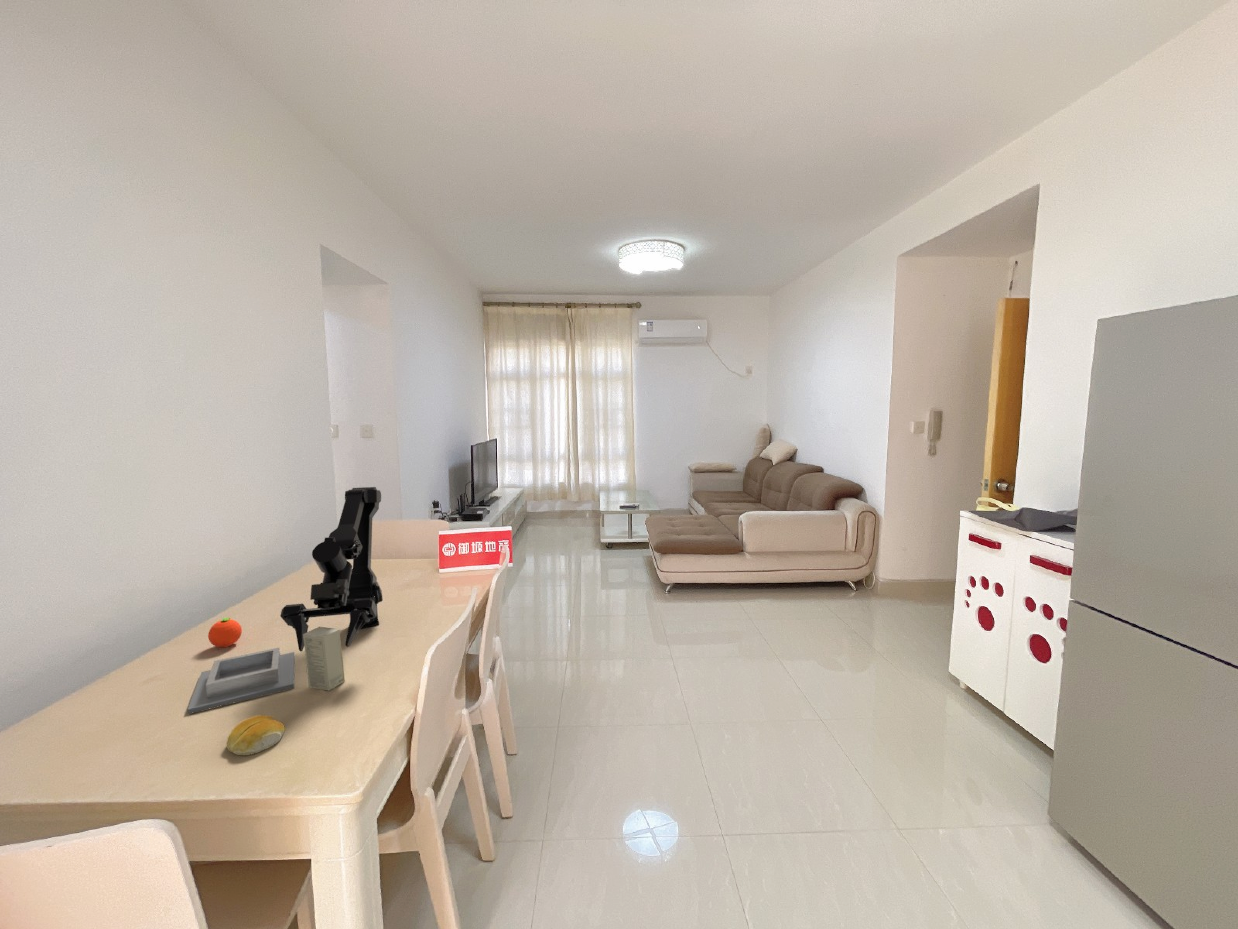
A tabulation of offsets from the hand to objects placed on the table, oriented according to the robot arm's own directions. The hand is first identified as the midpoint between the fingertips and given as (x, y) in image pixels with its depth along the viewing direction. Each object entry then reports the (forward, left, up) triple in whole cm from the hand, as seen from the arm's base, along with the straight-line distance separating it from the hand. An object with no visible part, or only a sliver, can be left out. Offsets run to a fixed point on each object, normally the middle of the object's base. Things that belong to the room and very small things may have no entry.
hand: (323, 648), depth 114 cm
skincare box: (0, 0, -8) cm, 8 cm away
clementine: (+21, -37, -8) cm, 43 cm away
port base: (+15, -11, -8) cm, 20 cm away
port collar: (+15, -11, -8) cm, 20 cm away
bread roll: (+12, +16, -9) cm, 22 cm away
